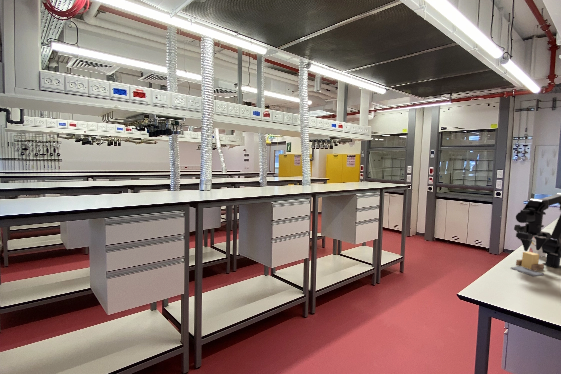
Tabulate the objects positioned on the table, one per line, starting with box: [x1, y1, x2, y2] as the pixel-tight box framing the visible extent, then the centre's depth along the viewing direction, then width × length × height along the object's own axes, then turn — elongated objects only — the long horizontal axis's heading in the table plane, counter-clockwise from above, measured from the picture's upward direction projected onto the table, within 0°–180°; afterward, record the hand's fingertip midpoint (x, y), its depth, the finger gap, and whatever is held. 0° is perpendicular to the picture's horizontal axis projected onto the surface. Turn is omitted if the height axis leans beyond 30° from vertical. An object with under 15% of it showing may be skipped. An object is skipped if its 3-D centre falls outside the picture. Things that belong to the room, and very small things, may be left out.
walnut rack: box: [515, 258, 545, 271], centre depth 163 cm, size 8×9×3 cm
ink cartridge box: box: [528, 237, 547, 258], centre depth 187 cm, size 9×5×15 cm, turn 168°
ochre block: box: [520, 251, 540, 269], centre depth 162 cm, size 5×5×8 cm
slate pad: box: [510, 265, 545, 277], centre depth 156 cm, size 8×11×1 cm
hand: (531, 250), depth 162 cm, fingers open, 9 cm apart
